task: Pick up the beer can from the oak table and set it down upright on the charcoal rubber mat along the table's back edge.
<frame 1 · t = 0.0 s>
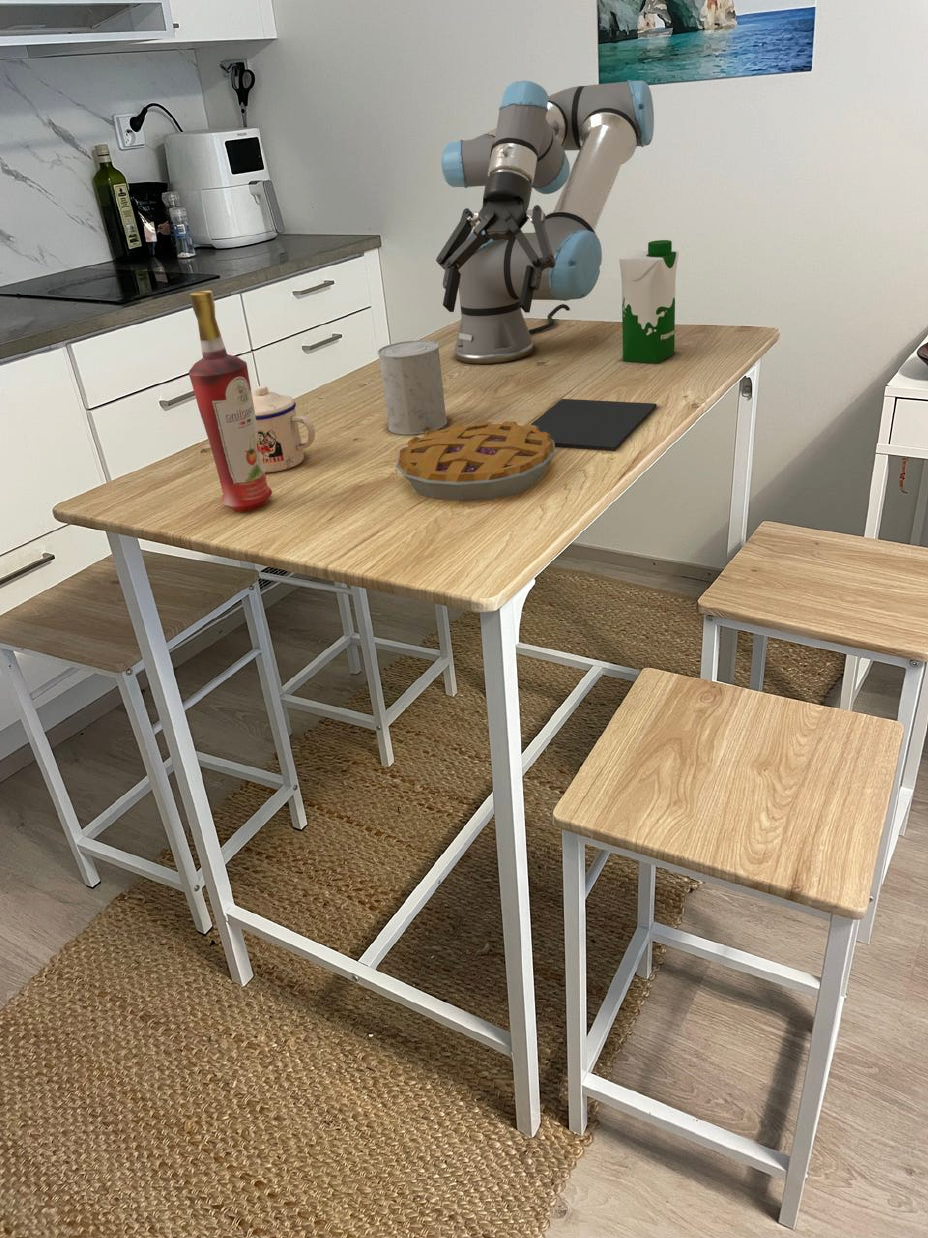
hand: (485, 308, 151), 15 cm above the table, tool tilted 35°, fingers open, 13 cm apart
liquor: (249, 506, 129), on the table
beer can: (417, 425, 152), on the table
pie: (478, 476, 130), on the table
back mat: (586, 424, 144), on the table
milk carton: (648, 358, 173), on the table
teacup with lid: (284, 464, 142), on the table
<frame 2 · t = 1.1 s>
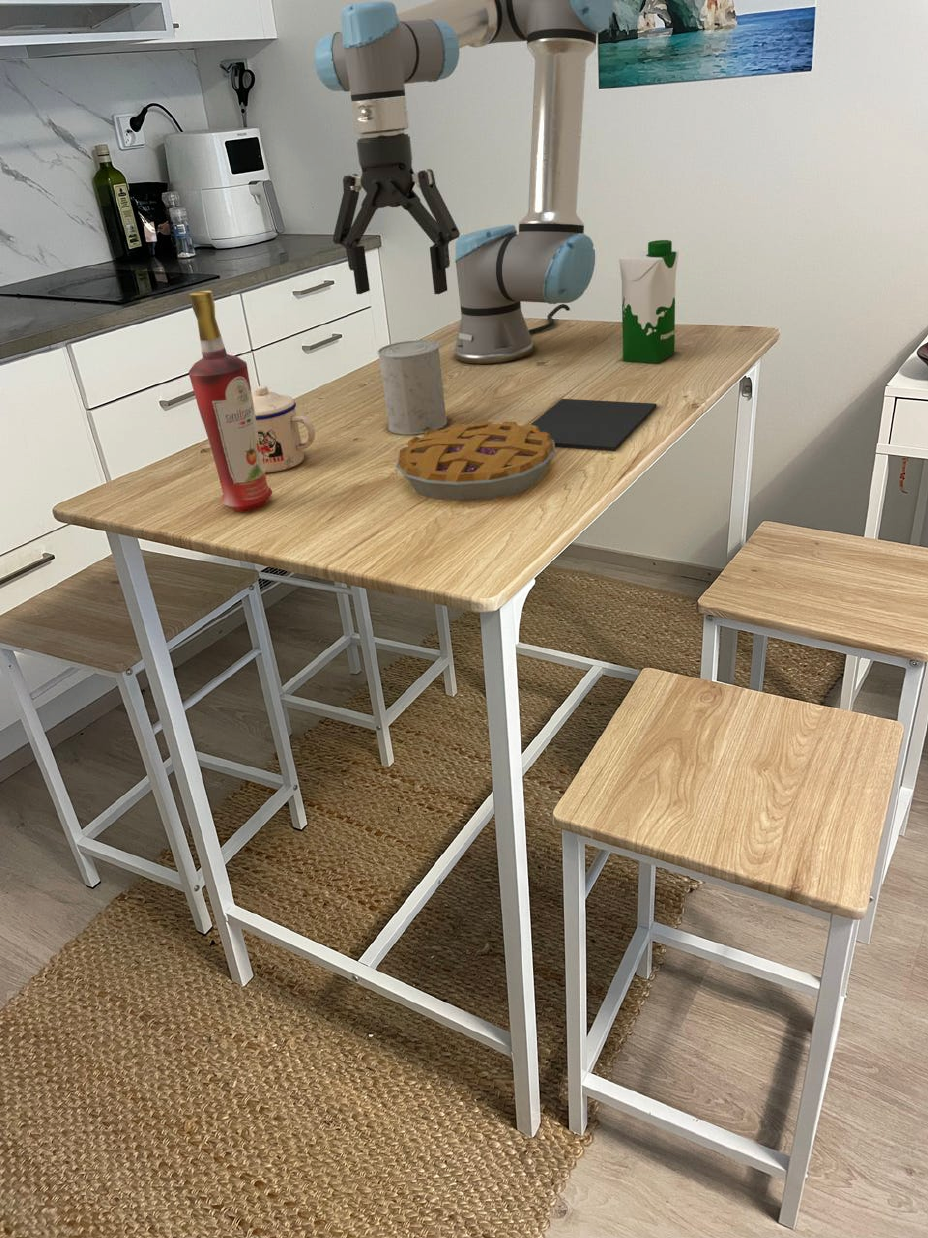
hand: (401, 292, 142), 21 cm above the table, tool pointing down, fingers open, 13 cm apart
nothing on the table moved.
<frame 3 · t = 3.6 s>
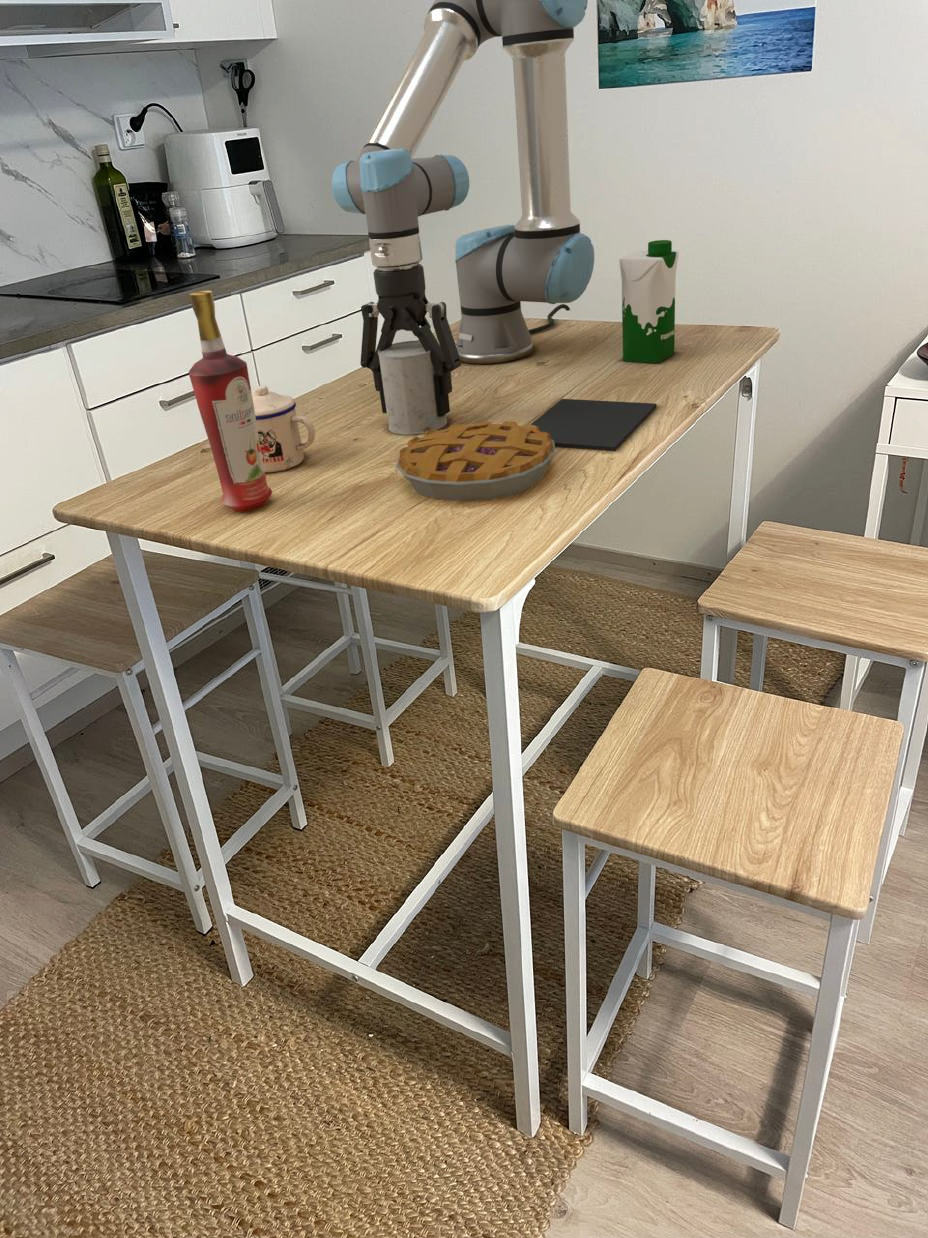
hand: (416, 412, 151), 2 cm above the table, tool pointing down, fingers closed on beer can, 9 cm apart
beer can: (417, 425, 152), on the table, touching gripper
everything else where it was.
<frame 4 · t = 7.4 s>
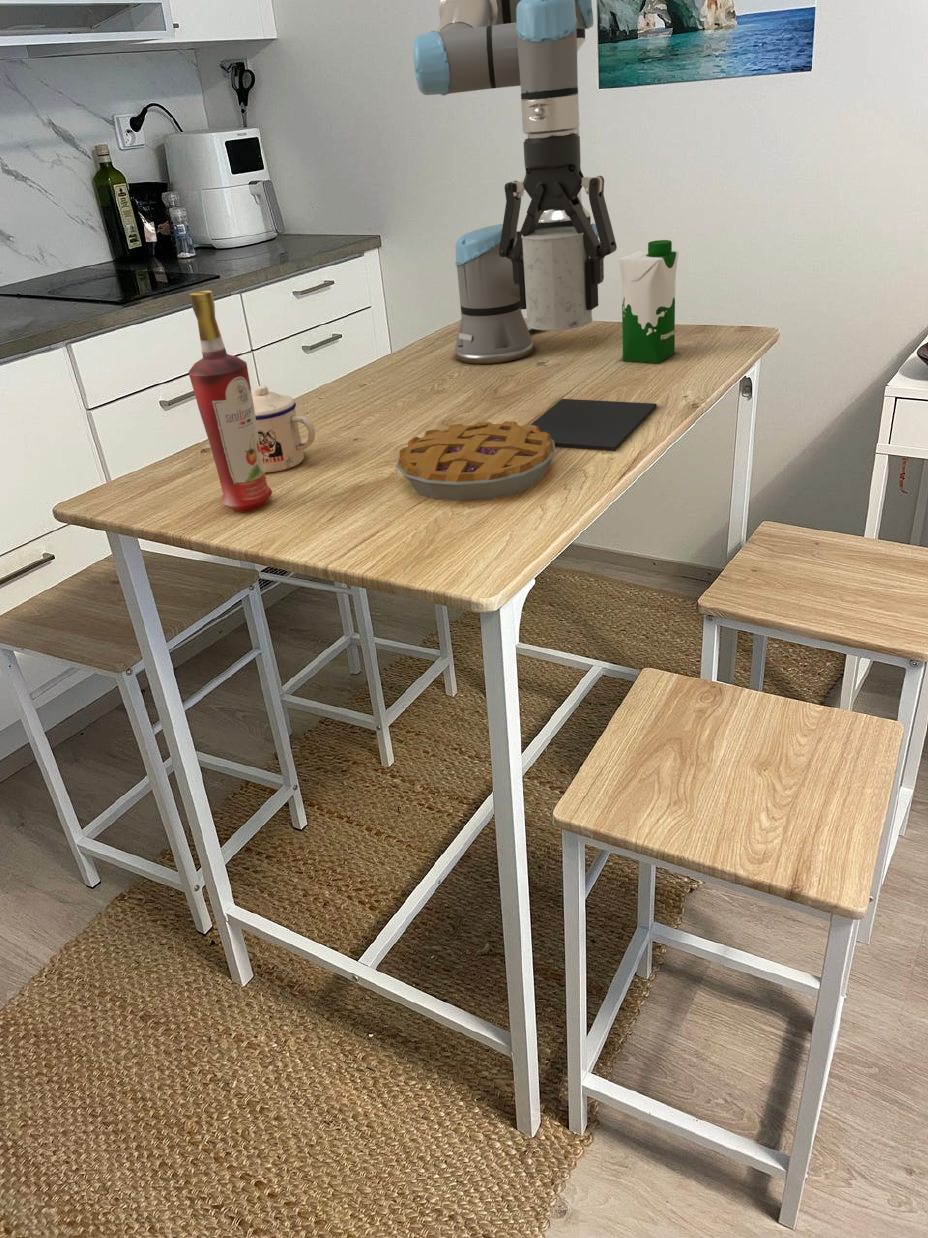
hand: (559, 307, 136), 18 cm above the table, tool pointing down, fingers closed on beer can, 9 cm apart
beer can: (559, 323, 137), point 15 cm above the table, touching gripper
everything else where it was.
when the fingers open (3 cm above the table, at t = 11.6 s): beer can stays where it is, resting on back mat.
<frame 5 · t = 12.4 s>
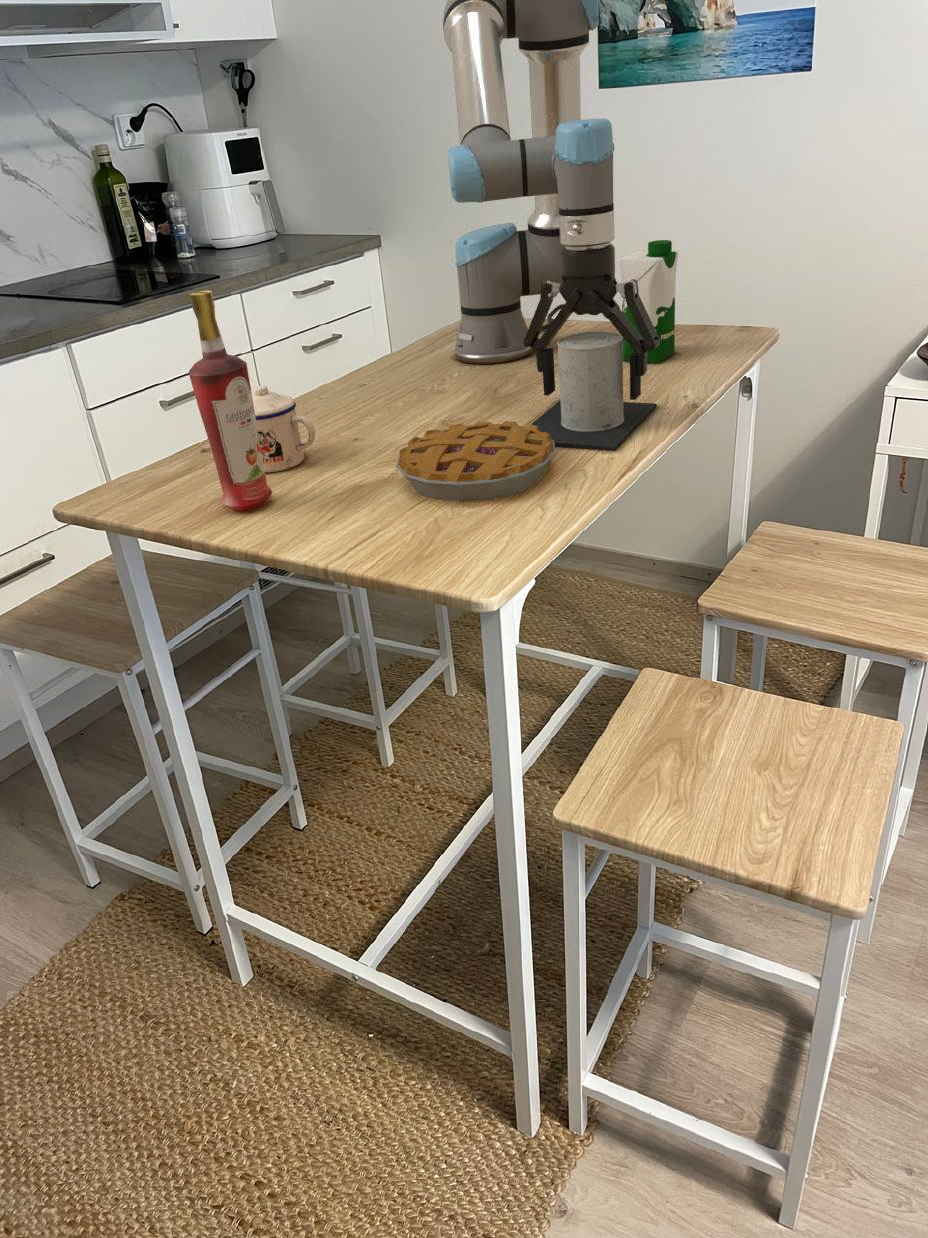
hand: (591, 395, 141), 5 cm above the table, tool pointing down, fingers open, 13 cm apart
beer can: (592, 422, 143), resting on back mat
everything else where it was.
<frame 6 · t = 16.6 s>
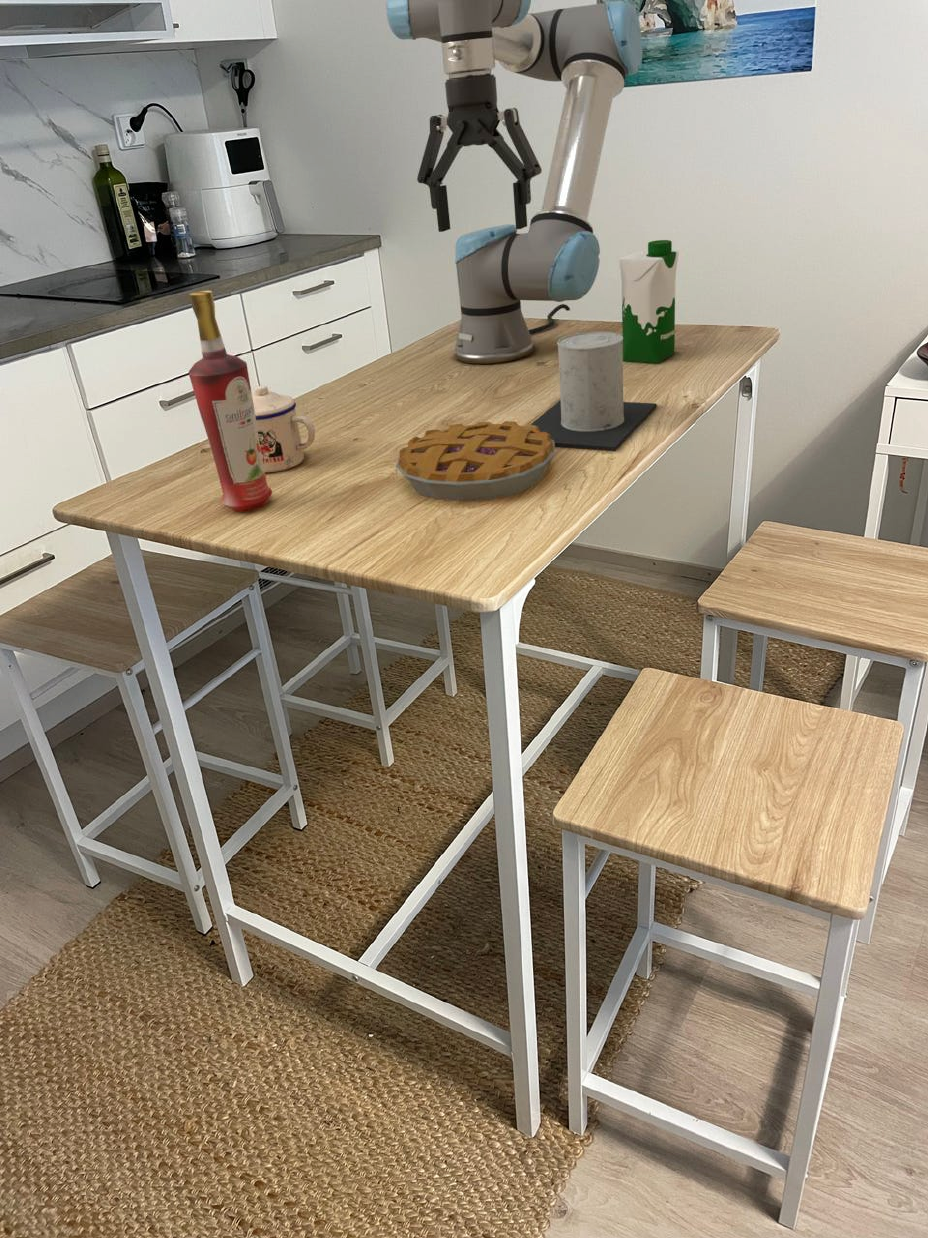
hand: (482, 229, 149), 27 cm above the table, tool pointing down, fingers open, 13 cm apart
nothing on the table moved.
at the end: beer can inside the target area on the back mat (1.0 cm from its centre), point 0.4 cm above the back mat's base; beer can tilted 0°; the gripper is holding nothing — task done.
